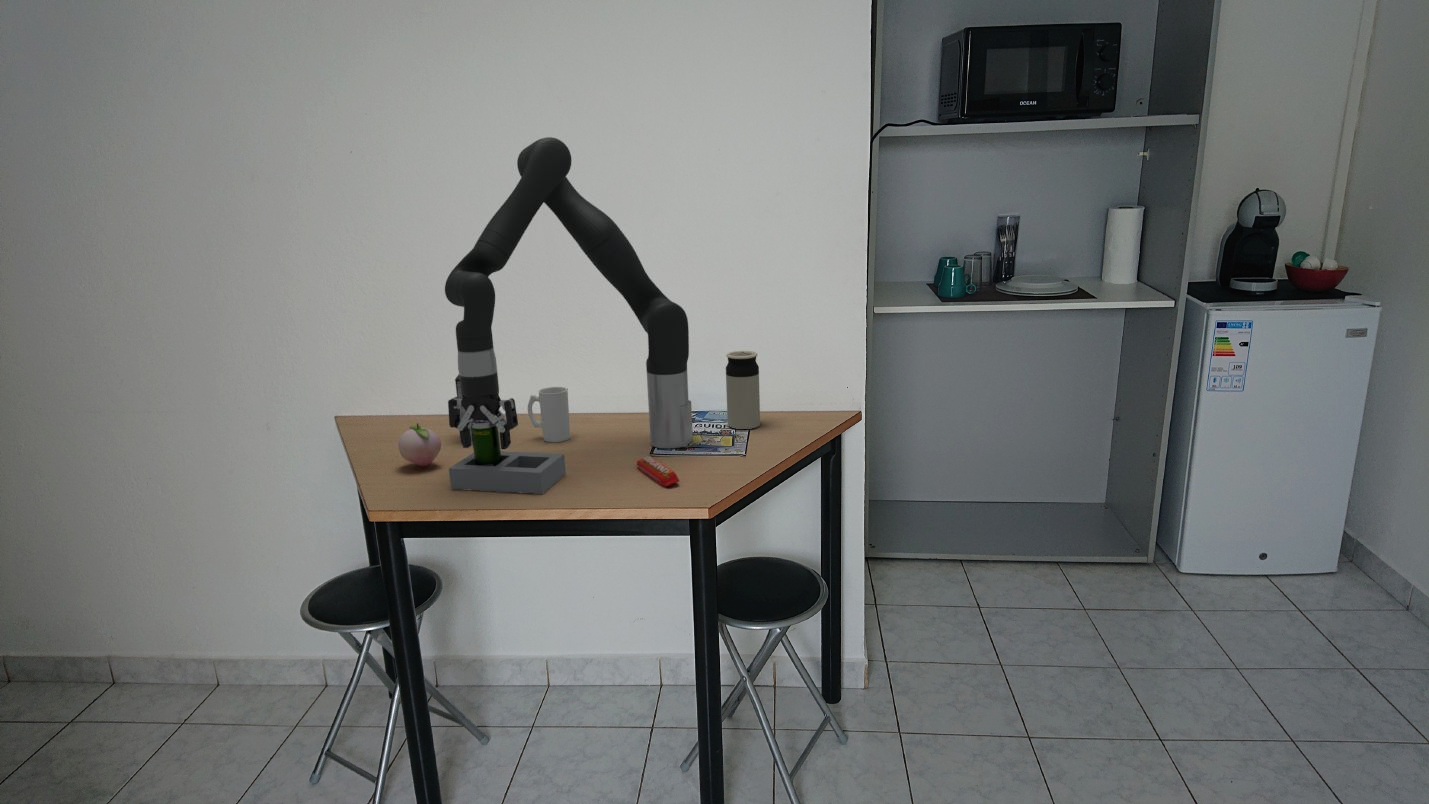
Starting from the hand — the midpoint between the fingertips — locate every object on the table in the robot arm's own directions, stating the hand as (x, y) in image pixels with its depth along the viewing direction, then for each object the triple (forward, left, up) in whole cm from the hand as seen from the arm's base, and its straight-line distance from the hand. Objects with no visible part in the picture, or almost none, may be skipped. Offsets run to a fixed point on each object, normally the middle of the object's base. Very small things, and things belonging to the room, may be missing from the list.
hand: (486, 447), depth 185 cm
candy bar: (-34, -7, -8) cm, 36 cm away
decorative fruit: (+20, -6, -7) cm, 22 cm away
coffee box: (+18, -28, -7) cm, 34 cm away
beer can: (0, 0, -6) cm, 6 cm away
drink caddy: (-4, 0, -7) cm, 8 cm away
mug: (0, -30, -7) cm, 31 cm away
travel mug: (-44, -46, -7) cm, 64 cm away
